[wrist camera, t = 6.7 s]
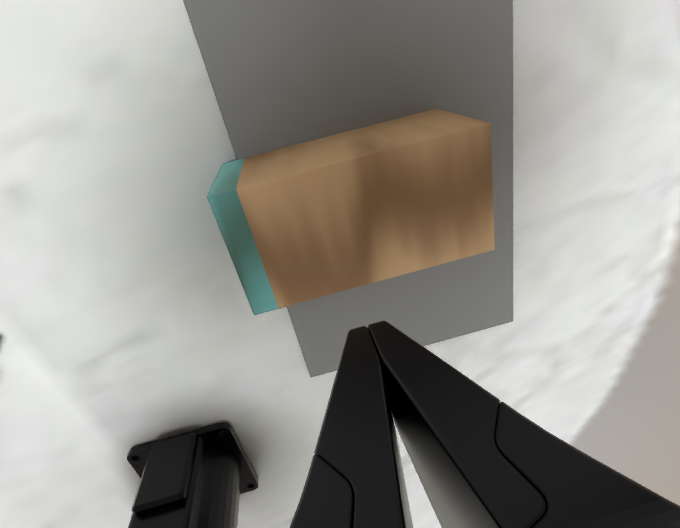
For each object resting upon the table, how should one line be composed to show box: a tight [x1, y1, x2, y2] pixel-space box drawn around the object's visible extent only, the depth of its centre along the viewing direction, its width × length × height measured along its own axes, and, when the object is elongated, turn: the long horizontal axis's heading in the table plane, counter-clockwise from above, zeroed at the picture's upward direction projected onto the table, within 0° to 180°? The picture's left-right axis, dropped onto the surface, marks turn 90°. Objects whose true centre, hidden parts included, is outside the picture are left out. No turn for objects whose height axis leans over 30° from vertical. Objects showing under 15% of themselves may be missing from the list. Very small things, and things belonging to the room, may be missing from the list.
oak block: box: [207, 109, 495, 315], centre depth 17 cm, size 5×5×10 cm
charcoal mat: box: [183, 0, 513, 377], centre depth 20 cm, size 20×13×1 cm, turn 12°
